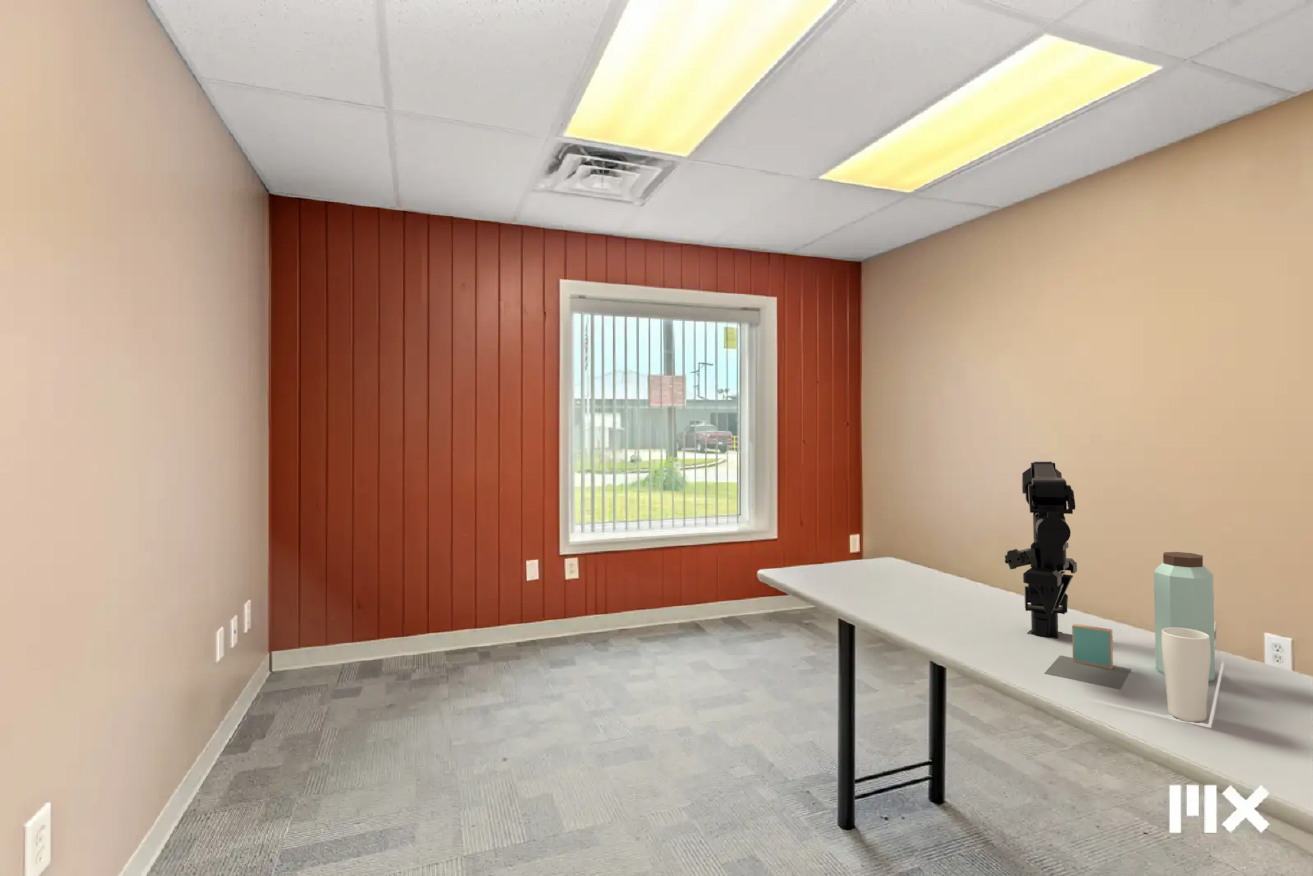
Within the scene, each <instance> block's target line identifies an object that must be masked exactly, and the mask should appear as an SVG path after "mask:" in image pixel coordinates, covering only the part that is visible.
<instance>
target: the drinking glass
mask: <svg viewBox="0 0 1313 876" xmlns="http://www.w3.org/2000/svg"><path fill="white" fill-rule="evenodd" d="M1161 651H1162V661H1163V669H1164V674H1163V676H1164V685H1165V691H1166V700H1167V701H1166V702H1167V706H1166V708H1167V712H1168V713H1169V714H1170V715H1172V717H1173V718H1175V719H1177V720H1180V721H1182V722H1183V721H1184V722H1188V723H1199V722H1201V721H1205V720H1207V714H1208V713H1207V705H1208V696H1209V695H1208V693H1209V692H1208V691H1209V682H1210V681H1209V673H1210V661H1211V649H1210V637H1209V635H1207V634H1206V633H1203V632H1200V631H1197V630H1192V629H1186V628H1175V627H1170V628H1164V629H1162V633H1161Z"/></svg>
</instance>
